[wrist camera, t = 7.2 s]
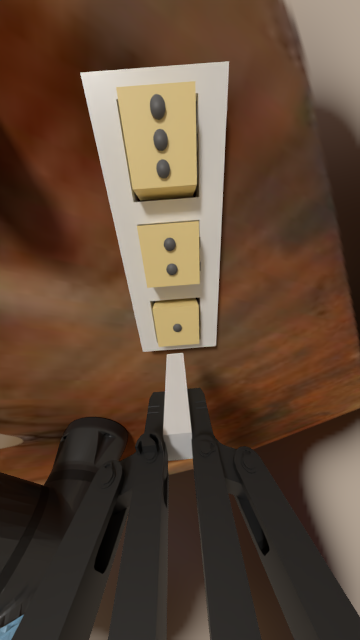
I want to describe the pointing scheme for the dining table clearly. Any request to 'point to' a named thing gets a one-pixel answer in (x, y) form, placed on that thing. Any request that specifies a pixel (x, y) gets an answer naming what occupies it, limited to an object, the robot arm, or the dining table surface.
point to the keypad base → (201, 208)
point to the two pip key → (170, 253)
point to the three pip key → (160, 138)
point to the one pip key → (177, 322)
